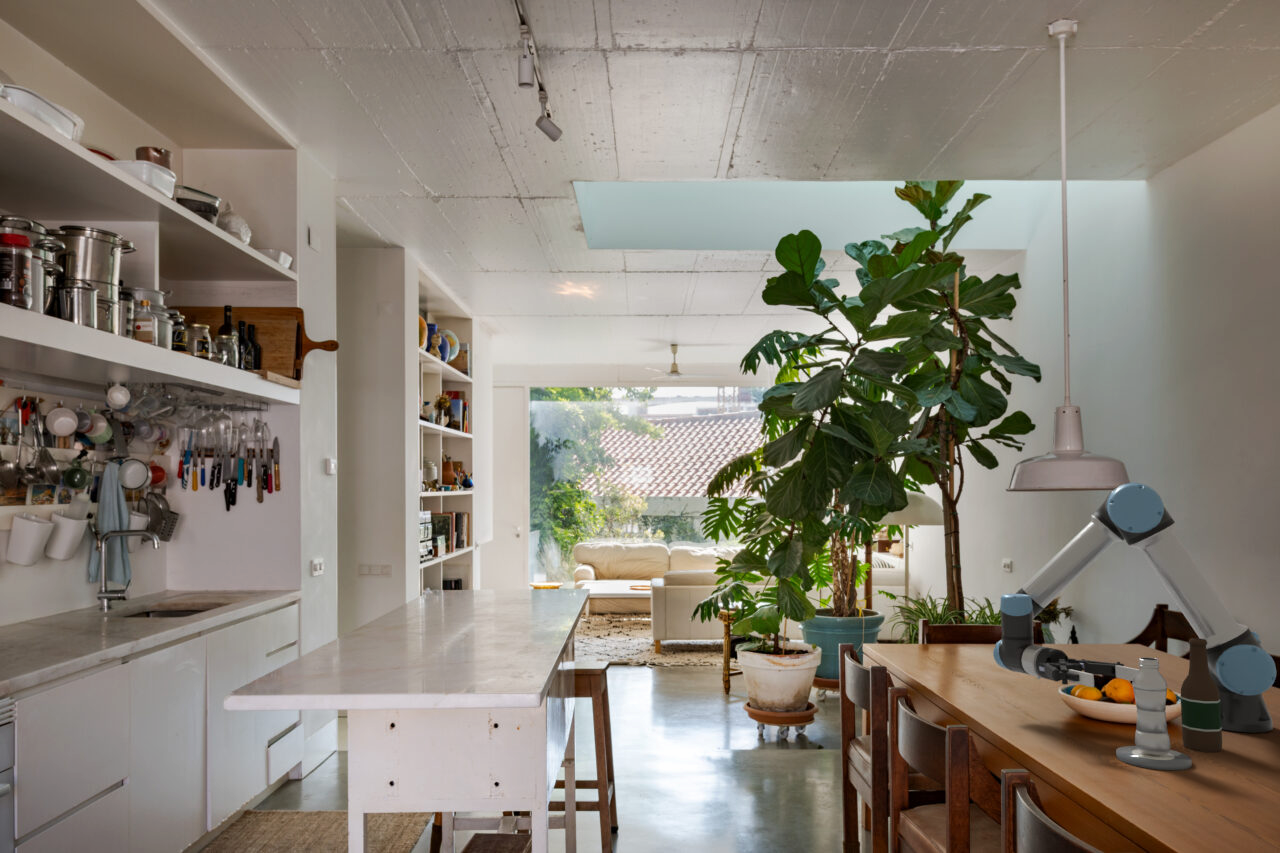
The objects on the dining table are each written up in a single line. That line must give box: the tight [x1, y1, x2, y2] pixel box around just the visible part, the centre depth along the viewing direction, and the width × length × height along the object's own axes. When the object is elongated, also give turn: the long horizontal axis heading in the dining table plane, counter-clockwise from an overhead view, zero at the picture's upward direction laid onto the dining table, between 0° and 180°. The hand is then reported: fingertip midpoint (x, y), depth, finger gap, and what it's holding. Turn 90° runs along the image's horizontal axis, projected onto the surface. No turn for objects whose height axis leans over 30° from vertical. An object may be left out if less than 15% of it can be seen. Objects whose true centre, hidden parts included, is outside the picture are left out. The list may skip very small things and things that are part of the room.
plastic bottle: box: [1131, 656, 1172, 755], centre depth 197 cm, size 6×7×20 cm
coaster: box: [1115, 745, 1193, 771], centre depth 196 cm, size 14×14×1 cm
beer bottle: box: [1180, 637, 1223, 753], centre depth 207 cm, size 8×8×24 cm
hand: (1116, 678), depth 206 cm, fingers open, 13 cm apart
